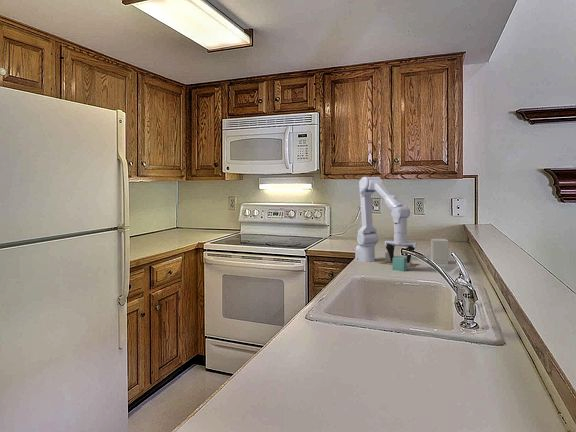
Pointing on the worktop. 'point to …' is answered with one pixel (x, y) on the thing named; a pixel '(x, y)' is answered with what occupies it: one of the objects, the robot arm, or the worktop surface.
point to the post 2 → (410, 261)
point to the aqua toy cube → (399, 263)
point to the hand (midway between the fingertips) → (400, 261)
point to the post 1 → (387, 258)
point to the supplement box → (439, 251)
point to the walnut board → (392, 264)
